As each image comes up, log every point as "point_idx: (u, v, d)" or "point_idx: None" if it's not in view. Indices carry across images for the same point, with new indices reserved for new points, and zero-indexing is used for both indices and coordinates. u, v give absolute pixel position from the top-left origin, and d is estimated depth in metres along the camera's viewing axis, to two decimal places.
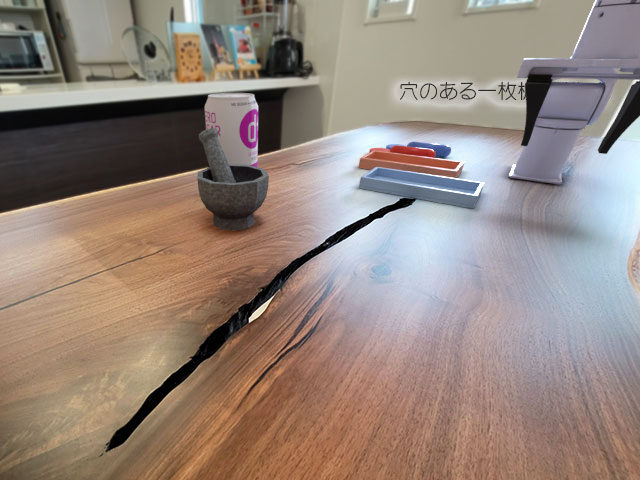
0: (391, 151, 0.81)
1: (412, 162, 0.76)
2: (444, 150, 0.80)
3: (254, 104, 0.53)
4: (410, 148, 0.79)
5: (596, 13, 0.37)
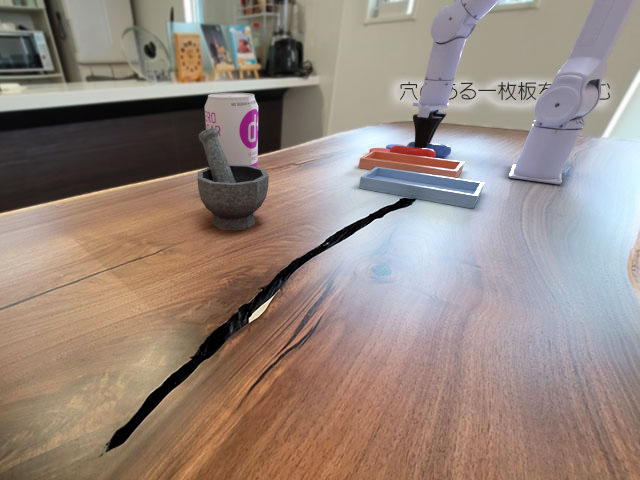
0: (391, 151, 0.81)
1: (412, 162, 0.76)
2: (444, 150, 0.80)
3: (254, 104, 0.53)
4: (410, 148, 0.79)
5: None
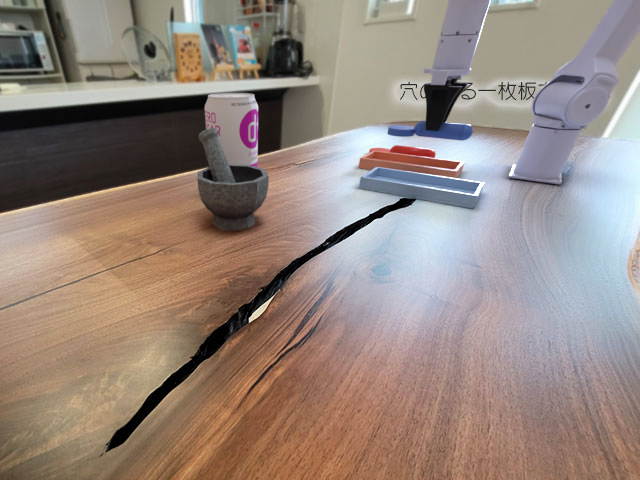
0: (391, 151, 0.81)
1: (412, 162, 0.76)
2: (464, 131, 0.61)
3: (254, 104, 0.53)
4: (410, 148, 0.79)
5: None
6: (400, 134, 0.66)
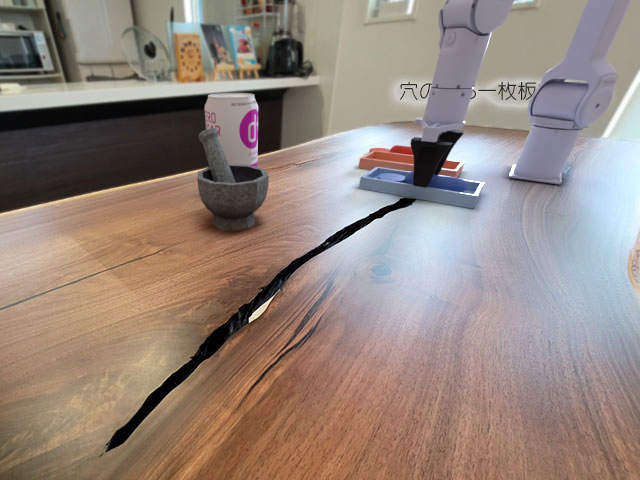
0: (391, 151, 0.81)
1: (412, 162, 0.76)
2: (457, 186, 0.58)
3: (254, 104, 0.53)
4: (410, 148, 0.79)
5: None
6: None
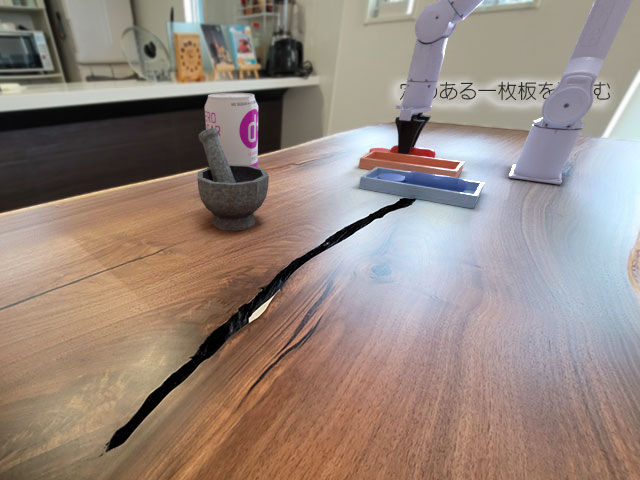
0: (391, 151, 0.81)
1: (412, 162, 0.76)
2: (457, 186, 0.58)
3: (254, 104, 0.53)
4: None
5: None
6: None
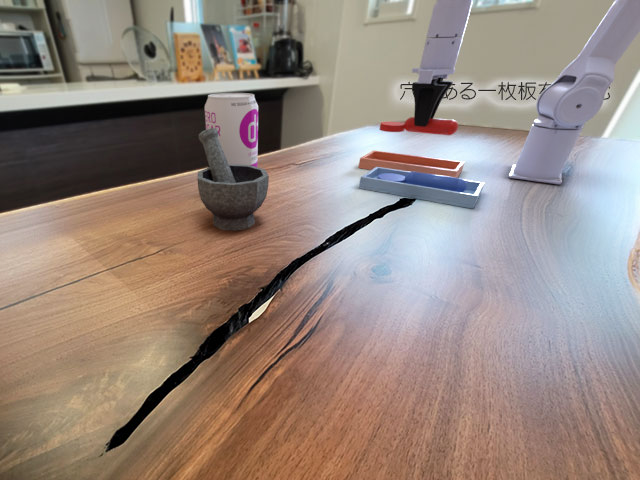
0: (406, 124, 0.70)
1: (412, 162, 0.76)
2: (457, 186, 0.58)
3: (254, 104, 0.53)
4: None
5: None
6: None
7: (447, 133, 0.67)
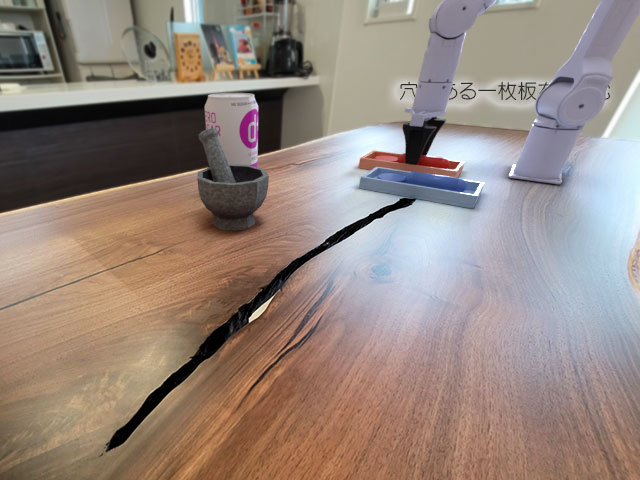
0: (399, 160, 0.73)
1: None
2: (457, 186, 0.58)
3: (254, 104, 0.53)
4: (421, 157, 0.70)
5: None
6: None
7: None
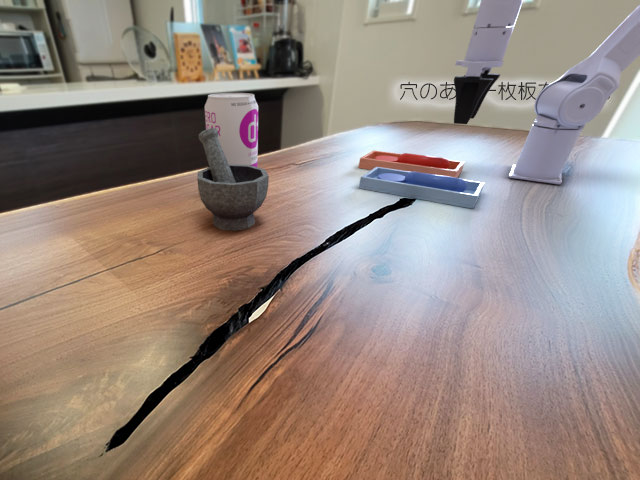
0: (399, 160, 0.73)
1: None
2: (457, 186, 0.58)
3: (254, 104, 0.53)
4: (421, 157, 0.70)
5: None
6: None
7: None
